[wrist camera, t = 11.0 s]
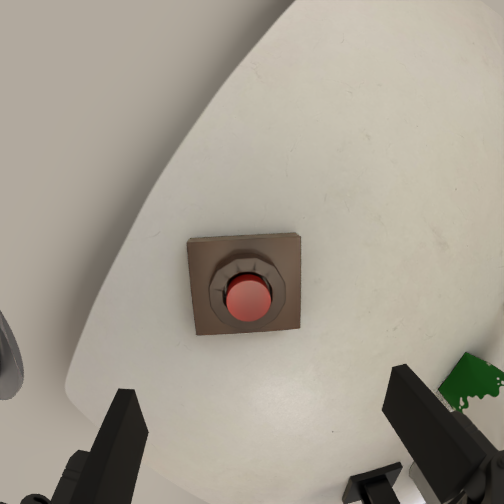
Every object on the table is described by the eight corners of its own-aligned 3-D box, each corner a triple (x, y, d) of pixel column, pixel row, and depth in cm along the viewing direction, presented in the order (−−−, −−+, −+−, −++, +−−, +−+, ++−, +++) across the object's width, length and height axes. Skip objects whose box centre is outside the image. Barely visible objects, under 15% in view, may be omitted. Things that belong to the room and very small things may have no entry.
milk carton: (431, 392, 35) (503, 476, 16) (467, 344, 34) (554, 414, 15) (455, 402, 37) (518, 473, 17) (487, 359, 36) (561, 420, 16)
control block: (198, 325, 30) (194, 344, 26) (189, 238, 28) (183, 246, 24) (295, 319, 31) (304, 337, 27) (295, 232, 29) (305, 239, 25)
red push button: (227, 314, 26) (227, 323, 24) (224, 275, 25) (224, 281, 24) (268, 311, 26) (271, 320, 25) (267, 272, 25) (270, 278, 24)
